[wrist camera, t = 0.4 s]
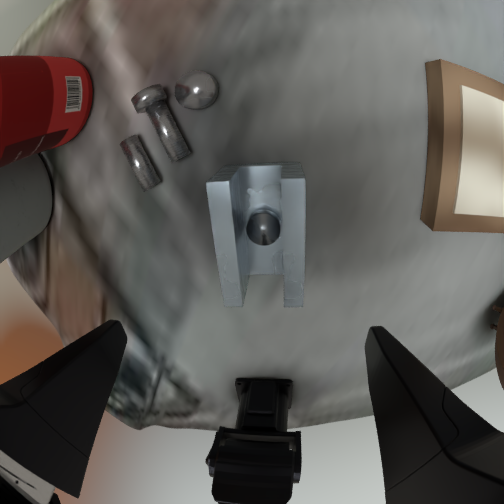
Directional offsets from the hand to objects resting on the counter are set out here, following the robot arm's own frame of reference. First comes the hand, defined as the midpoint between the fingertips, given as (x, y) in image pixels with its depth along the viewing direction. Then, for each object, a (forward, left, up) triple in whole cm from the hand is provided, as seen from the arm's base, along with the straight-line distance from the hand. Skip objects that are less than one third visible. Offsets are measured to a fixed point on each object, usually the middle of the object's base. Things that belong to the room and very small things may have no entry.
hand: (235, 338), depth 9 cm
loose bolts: (+7, +6, -12) cm, 15 cm away
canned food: (+12, +16, -12) cm, 23 cm away
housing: (0, 0, -12) cm, 12 cm away
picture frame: (+6, -18, -12) cm, 22 cm away
